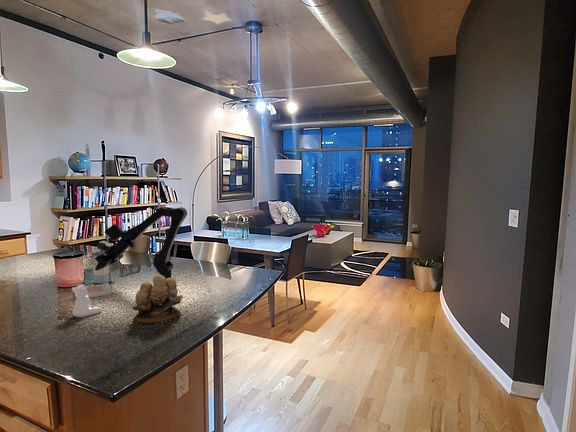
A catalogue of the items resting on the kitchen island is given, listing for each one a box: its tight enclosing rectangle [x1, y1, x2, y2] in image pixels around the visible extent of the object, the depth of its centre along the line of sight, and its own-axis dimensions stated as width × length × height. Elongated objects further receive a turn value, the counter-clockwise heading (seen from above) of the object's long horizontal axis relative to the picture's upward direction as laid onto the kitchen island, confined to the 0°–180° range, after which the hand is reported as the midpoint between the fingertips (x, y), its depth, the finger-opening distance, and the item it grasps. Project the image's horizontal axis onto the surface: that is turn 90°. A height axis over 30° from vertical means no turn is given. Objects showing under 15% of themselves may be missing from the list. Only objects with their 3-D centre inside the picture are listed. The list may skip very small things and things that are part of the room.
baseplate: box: [74, 282, 112, 300], centre depth 161 cm, size 14×14×2 cm
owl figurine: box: [131, 273, 183, 325], centre depth 133 cm, size 18×12×17 cm, turn 120°
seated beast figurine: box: [71, 283, 103, 318], centre depth 134 cm, size 10×9×12 cm
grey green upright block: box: [92, 258, 110, 284], centre depth 176 cm, size 5×5×12 cm
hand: (98, 268), depth 176 cm, fingers closed on grey green upright block, 5 cm apart
